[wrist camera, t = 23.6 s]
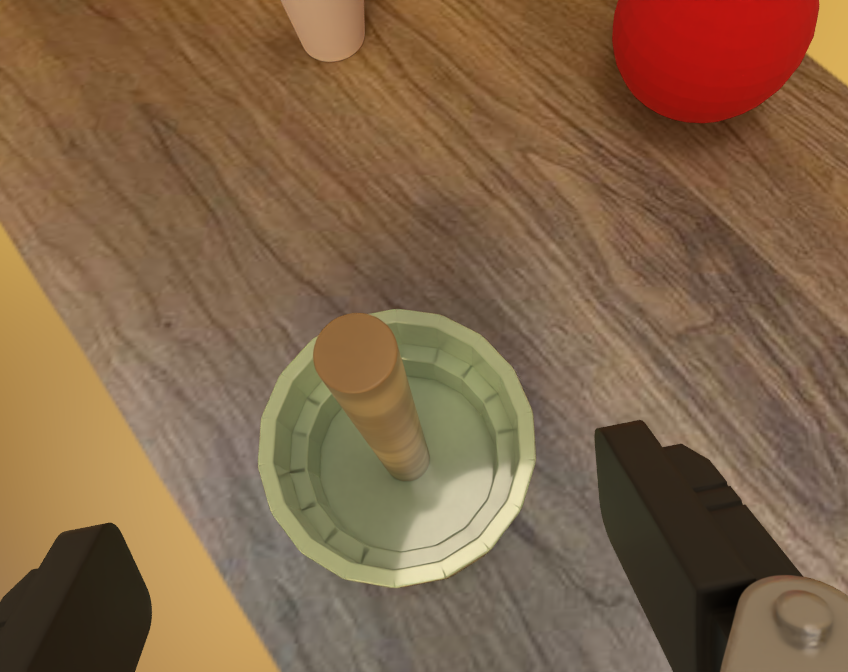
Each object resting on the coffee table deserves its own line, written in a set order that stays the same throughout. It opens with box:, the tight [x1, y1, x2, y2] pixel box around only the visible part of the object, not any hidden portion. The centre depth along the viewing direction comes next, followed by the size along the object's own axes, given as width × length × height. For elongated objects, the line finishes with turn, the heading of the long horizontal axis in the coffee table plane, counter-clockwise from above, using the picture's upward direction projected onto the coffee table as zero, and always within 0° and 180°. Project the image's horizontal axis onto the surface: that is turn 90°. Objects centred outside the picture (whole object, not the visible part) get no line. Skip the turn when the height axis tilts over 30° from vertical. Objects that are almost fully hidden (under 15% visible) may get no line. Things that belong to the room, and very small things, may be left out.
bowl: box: [258, 309, 536, 588], centre depth 28 cm, size 10×10×6 cm
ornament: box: [612, 0, 819, 123], centre depth 32 cm, size 9×9×10 cm
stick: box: [313, 313, 430, 481], centre depth 23 cm, size 2×2×15 cm
